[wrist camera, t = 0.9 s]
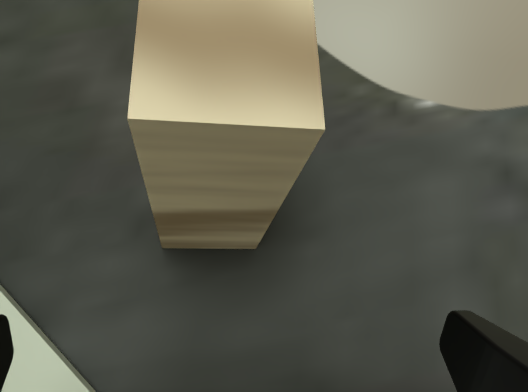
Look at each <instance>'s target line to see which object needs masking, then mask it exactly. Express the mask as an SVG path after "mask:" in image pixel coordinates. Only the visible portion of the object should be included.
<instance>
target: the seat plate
mask: <svg viewBox="0 0 528 392" xmlns="http://www.w3.org/2000/svg"><path fill="white" fill-rule="evenodd" d="M0 314H3V315H5V316H7V318H8V320H9V325H10V331H11V336H12V342H13V347H14V354H13V360H12V363H11V366H10V369H9V371H8V374H7V377H6V380H5V382H4V385H3V388H2V391H1V392H96V391H95V390H94V389H93V388H92V387H91V386H90V385H89V383H88V382H87V381H86V380H85V379H84V378H83V377H82V376H81V374H80V373H79V372H78V371H77V370H76V369H75V368H74V367H73V365H72V364H71V363H70V362H69V361H68V360H67V359H66V358H65V356H64V355H63V354H62V353H61V352H60V351H59V350H58V349H57V347H56V346H55V345H54V344H53V343H52V342H51V341H50V340H49V338H48V337H47V336H46V335H45V334H44V333H43V332H42V331H41V329H40V328H39V327H38V326H37V325H36V324H35V323H34V322H33V320H32V319H31V318H30V317H29V316H28V315H27V314H26V313H25V312H24V310H23V309H22V308H21V307H20V306H19V305H18V304H17V303H16V301H15V300H14V299H13V298H12V297H11V296H10V295H9V294H8V292H7V291H6V290H5V289H4V288H3V287H2V286H1V285H0Z"/></svg>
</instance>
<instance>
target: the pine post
mask: <svg viewBox="0 0 528 392" xmlns="http://www.w3.org/2000/svg"><path fill="white" fill-rule="evenodd" d="M128 122H129V126H130V130H131V134H132V137H133V141H134V145H135V149H136V152H137V156H138V160H139V164H140V167H141V171H142V175H143V178H144V182H145V186H146V190H147V193H148V197H149V201H150V205H151V208H152V212H153V216H154V220H155V223H156V227H157V231H158V235H159V238H160V242H161V246H162V248H202V249H256V248H257V246H258V244H259V242H260V241H261V239H262V237H263V235H264V234H265V232H266V230H267V229H268V227H269V225H270V223H271V222H272V220H273V218H274V217H275V215H276V213H277V211H278V210H279V208H280V206H281V205H282V203H283V201H284V199H285V198H286V196H287V194H288V193H289V191H290V189H291V187H292V186H293V184H294V182H295V181H296V179H297V177H298V175H299V174H300V172H301V170H302V169H303V167H304V165H305V163H306V162H307V160H308V158H309V156H310V155H311V153H312V151H313V150H314V148H315V146H316V144H317V143H318V141H319V139H320V138H321V136H322V134H323V132H324V131H325V122H324V112H323V101H322V91H321V80H320V69H319V59H318V48H317V38H316V27H315V17H314V6H313V0H139V7H138V17H137V27H136V37H135V47H134V58H133V68H132V78H131V88H130V98H129V108H128Z"/></svg>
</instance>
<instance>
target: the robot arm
mask: <svg viewBox="0 0 528 392" xmlns="http://www.w3.org/2000/svg"><path fill="white" fill-rule="evenodd" d="M439 345H440V351H441V353H442V356H443V358H444V361H445V363H446V366H447V368H448V370H449V373H450V375H451V378H452V380H453V383H454V385H455V388H456V390H457V392H528V343H527V342H526V341H524V340H522V339H520V338H518V337H517V336H515V335H513V334H511V333H509V332H507V331H506V330H504V329H502V328H500V327H498V326H497V325H495V324H493V323H491V322H489V321H487V320H486V319H484V318H482V317H480V316H478V315H476V314H475V313H473V312H471V311H466V310H462V311H451V312H450V313H449V314H448V316H447V318H446V321H445V324H444V328H443V331H442V334H441V337H440V343H439ZM13 354H14V347H13V342H12V336H11V331H10V325H9V320H8V318H7V316H5V315H3V314H0V392H1V391H2V388H3V385H4V382H5V380H6V377H7V374H8V371H9V369H10V366H11V363H12V360H13Z"/></svg>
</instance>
